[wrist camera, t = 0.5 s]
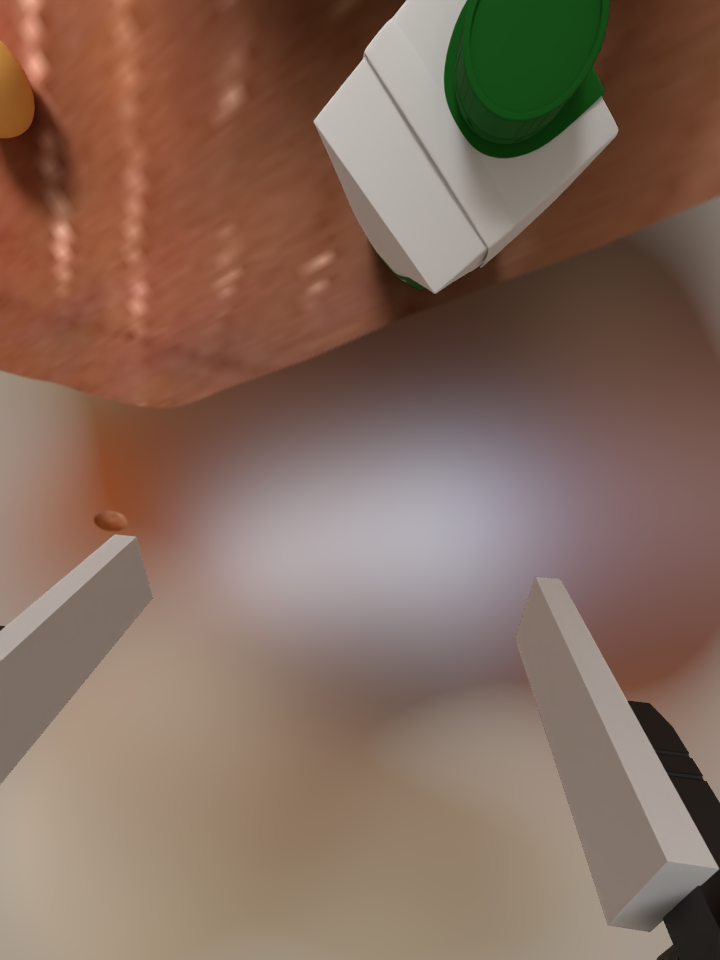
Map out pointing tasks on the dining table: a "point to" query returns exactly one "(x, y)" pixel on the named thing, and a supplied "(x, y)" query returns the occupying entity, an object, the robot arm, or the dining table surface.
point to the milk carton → (466, 127)
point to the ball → (14, 96)
